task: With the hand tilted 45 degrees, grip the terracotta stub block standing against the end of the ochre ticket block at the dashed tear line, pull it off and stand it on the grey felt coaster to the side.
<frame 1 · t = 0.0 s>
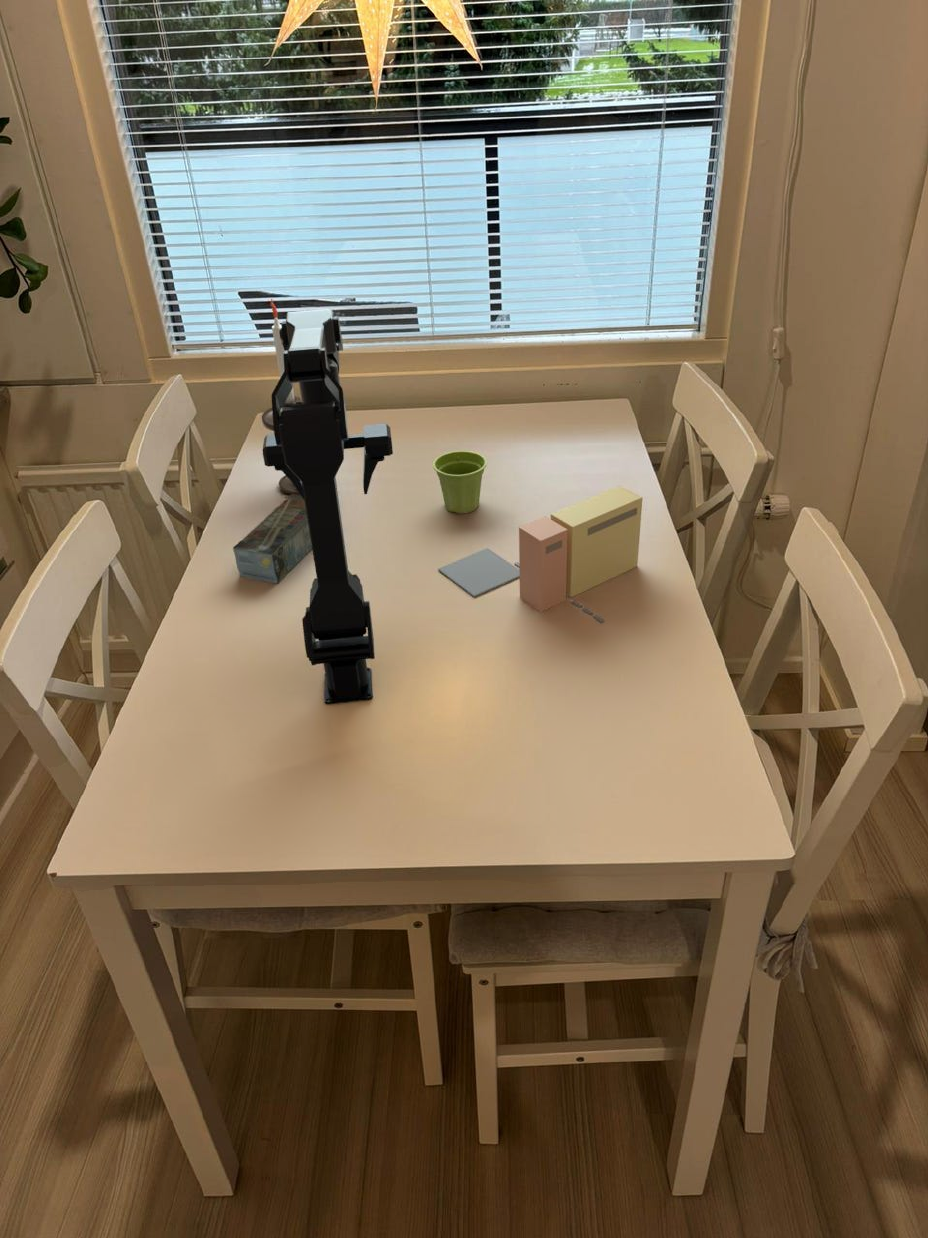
hand: (335, 495, 142), 15 cm above the table, tool pointing down, fingers open, 9 cm apart
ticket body: (594, 574, 147), on the table
perforation marks: (557, 591, 144), on the table
coaster: (481, 572, 149), on the table
candlestick: (303, 485, 177), on the table
beverage carton: (288, 553, 158), on the table
stub: (542, 598, 143), on the table
plant pot: (462, 507, 168), on the table
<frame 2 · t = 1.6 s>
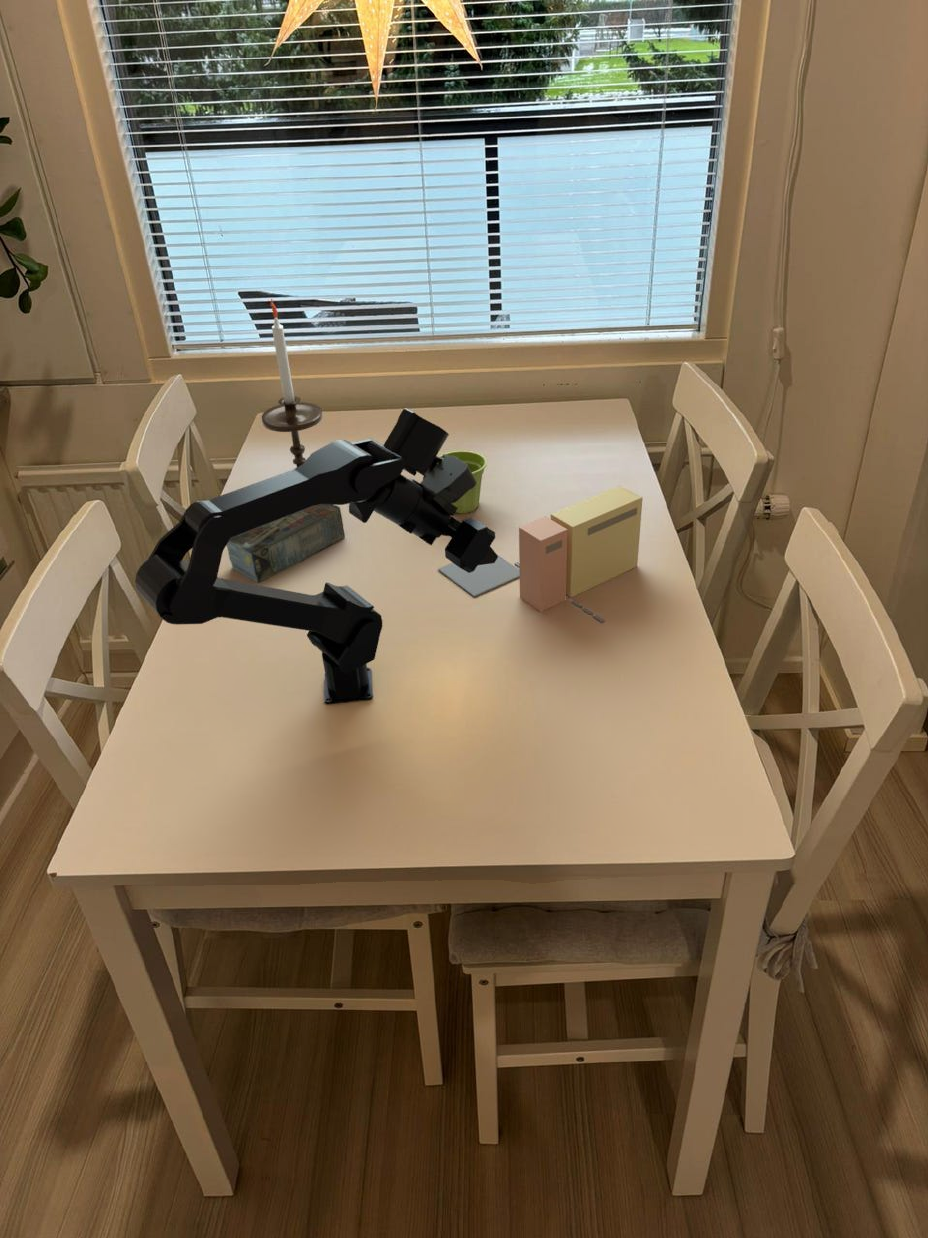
hand: (475, 545, 130), 14 cm above the table, tool tilted 45°, fingers open, 9 cm apart
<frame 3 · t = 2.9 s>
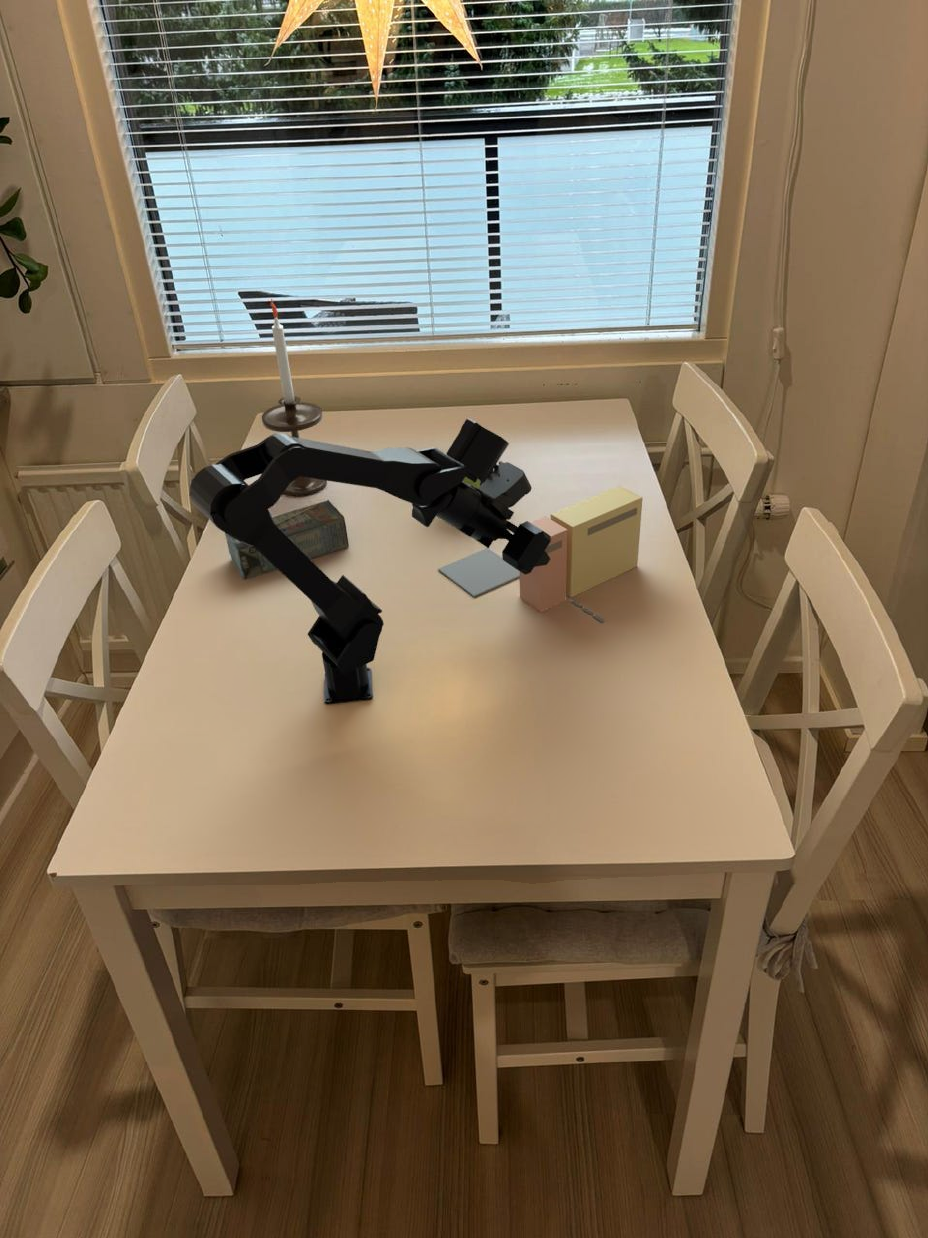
hand: (527, 548, 135), 10 cm above the table, tool tilted 45°, fingers open, 9 cm apart
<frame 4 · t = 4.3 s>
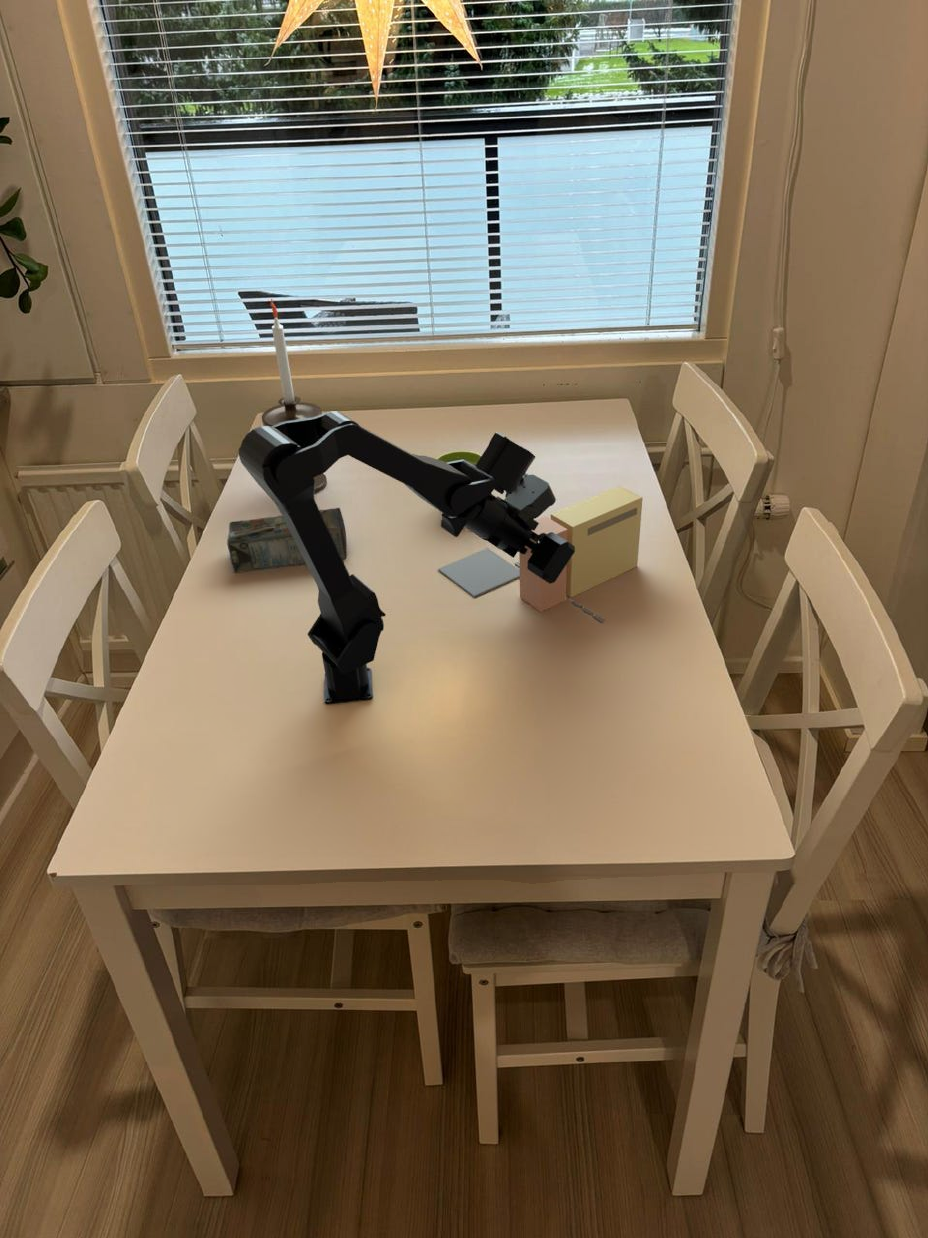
hand: (550, 558, 139), 7 cm above the table, tool tilted 45°, fingers closed on stub, 5 cm apart
stub: (542, 598, 143), on the table, touching gripper
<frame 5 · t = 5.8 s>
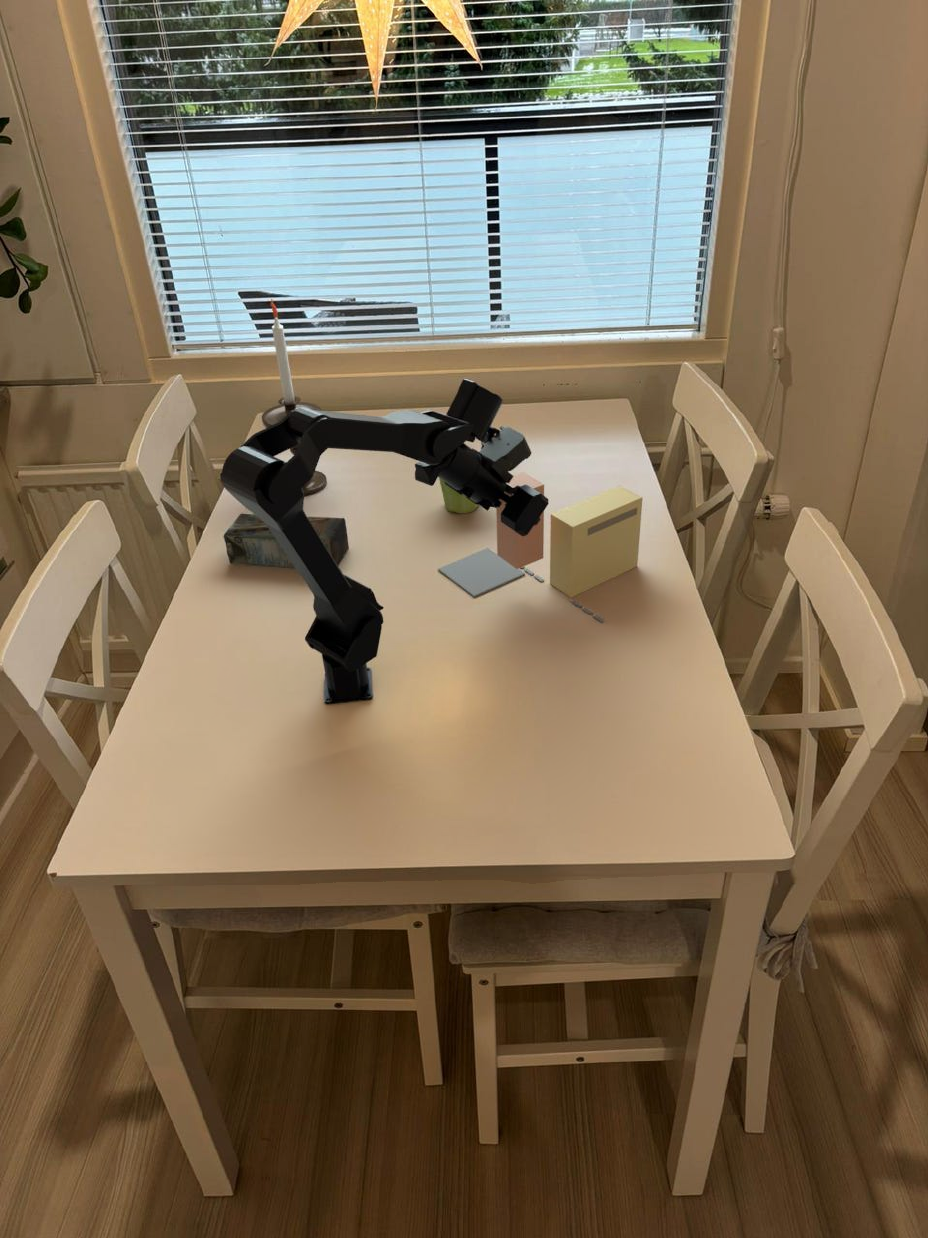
hand: (527, 514, 138), 13 cm above the table, tool tilted 45°, fingers closed on stub, 5 cm apart
stub: (520, 556, 141), point 6 cm above the table, touching gripper
when the fingers open (8 cm above the table, at t = 7.6 s): stub stays where it is, resting on coaster.
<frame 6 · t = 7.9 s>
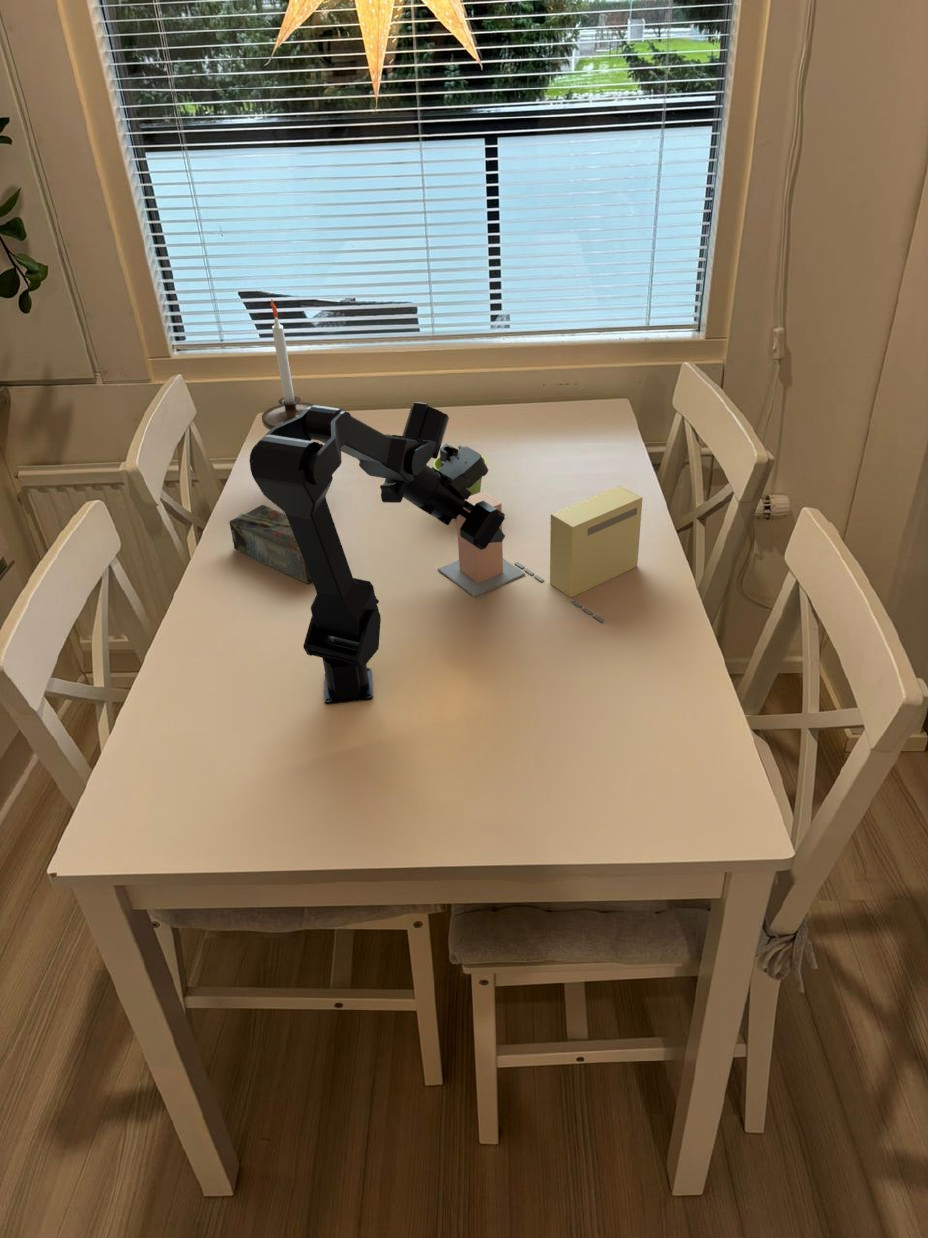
hand: (486, 527, 145), 8 cm above the table, tool tilted 45°, fingers open, 8 cm apart
stub: (481, 571, 149), resting on coaster
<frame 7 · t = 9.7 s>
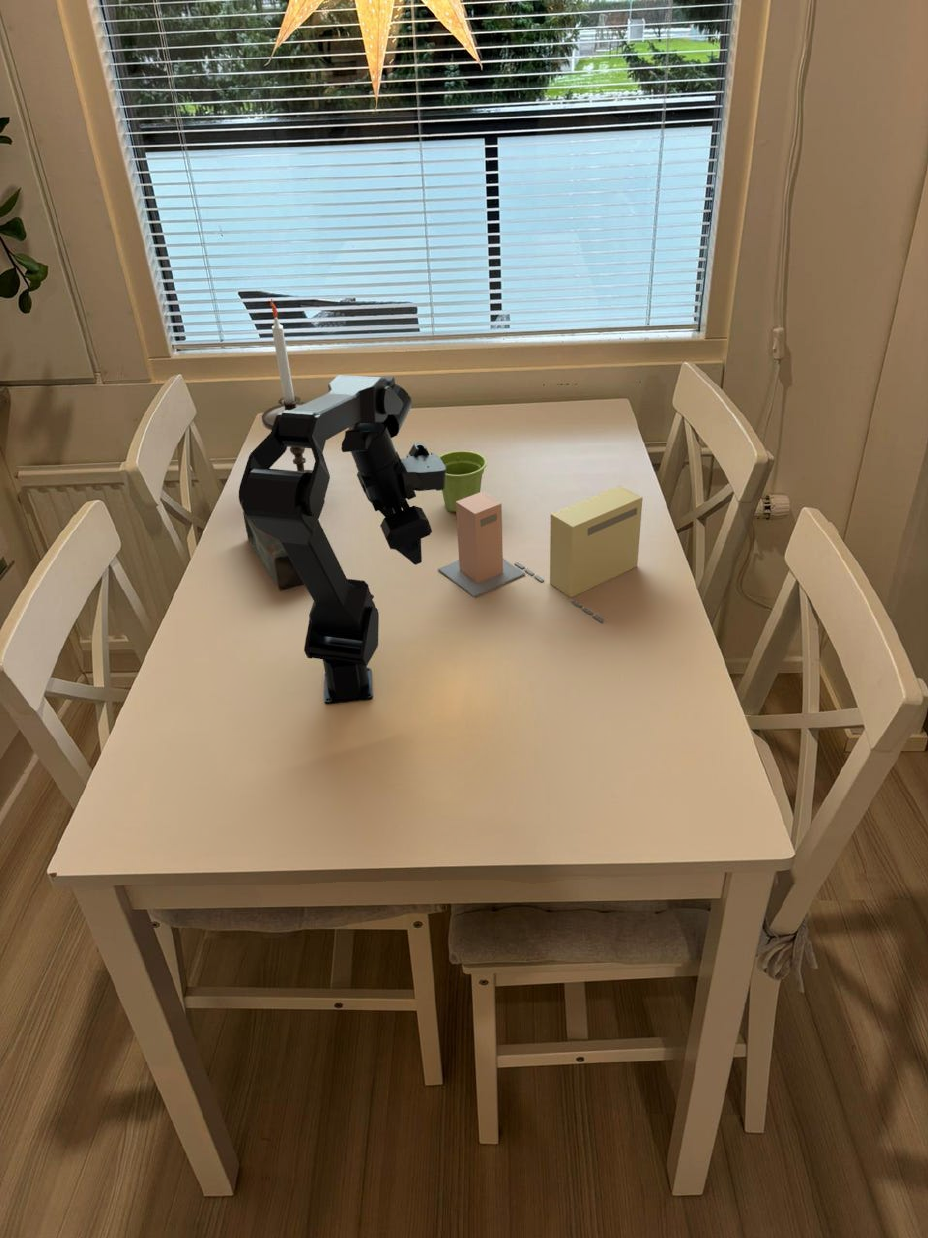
hand: (409, 545, 137), 11 cm above the table, tool pointing down, fingers open, 9 cm apart
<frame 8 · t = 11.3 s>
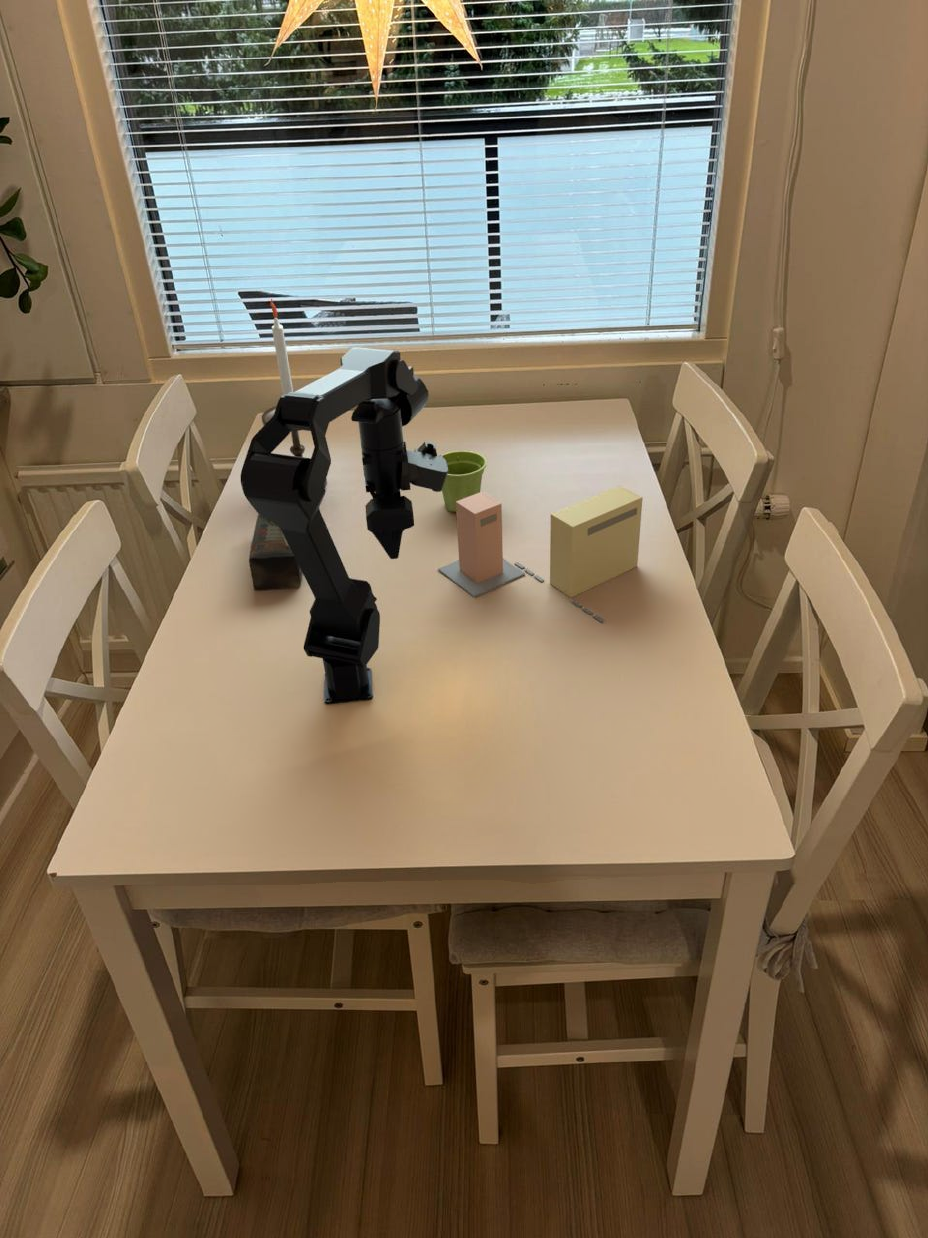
hand: (392, 541, 133), 13 cm above the table, tool pointing down, fingers open, 9 cm apart
at the end: stub 0.1 cm from the coaster (horizontally); stub tilted 0°; stub touching coaster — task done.
